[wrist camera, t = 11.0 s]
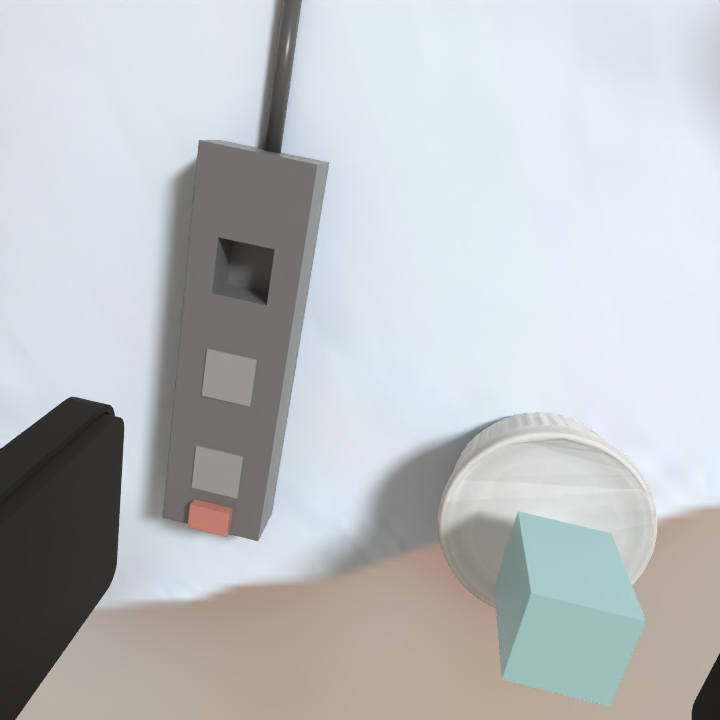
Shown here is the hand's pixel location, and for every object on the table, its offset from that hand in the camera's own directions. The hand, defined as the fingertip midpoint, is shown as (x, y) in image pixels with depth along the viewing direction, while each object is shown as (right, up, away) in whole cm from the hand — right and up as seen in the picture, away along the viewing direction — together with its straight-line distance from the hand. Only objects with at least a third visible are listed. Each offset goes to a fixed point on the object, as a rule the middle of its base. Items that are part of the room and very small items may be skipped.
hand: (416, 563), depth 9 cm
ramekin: (+10, -4, +29) cm, 31 cm away
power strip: (-7, +8, +27) cm, 29 cm away
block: (+9, -6, +24) cm, 27 cm away
